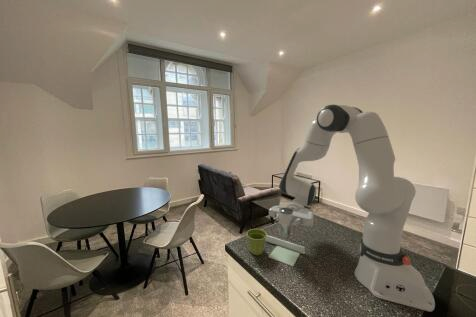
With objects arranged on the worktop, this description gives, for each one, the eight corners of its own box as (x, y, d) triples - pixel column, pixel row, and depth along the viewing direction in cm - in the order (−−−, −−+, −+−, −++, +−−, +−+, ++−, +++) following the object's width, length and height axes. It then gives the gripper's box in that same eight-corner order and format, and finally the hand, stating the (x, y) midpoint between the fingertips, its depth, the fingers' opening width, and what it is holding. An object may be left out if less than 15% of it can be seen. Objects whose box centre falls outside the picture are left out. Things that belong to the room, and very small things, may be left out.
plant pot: (266, 246, 95) (266, 229, 94) (267, 258, 86) (267, 240, 84) (247, 244, 96) (247, 228, 95) (245, 257, 87) (246, 238, 85)
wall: (304, 253, 89) (304, 247, 89) (303, 254, 89) (304, 247, 88) (264, 239, 100) (264, 234, 100) (264, 240, 100) (264, 235, 99)
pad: (299, 254, 89) (300, 253, 89) (292, 266, 80) (293, 265, 80) (277, 246, 95) (277, 245, 95) (268, 257, 86) (268, 256, 86)
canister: (293, 232, 87) (294, 209, 85) (289, 238, 82) (290, 214, 81) (281, 229, 90) (282, 206, 89) (276, 234, 85) (277, 210, 84)
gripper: (275, 200, 101) (263, 209, 90) (316, 209, 90) (309, 220, 79) (274, 212, 102) (263, 222, 91) (315, 222, 91) (308, 235, 80)
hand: (284, 221), depth 85 cm, fingers closed on canister, 6 cm apart
